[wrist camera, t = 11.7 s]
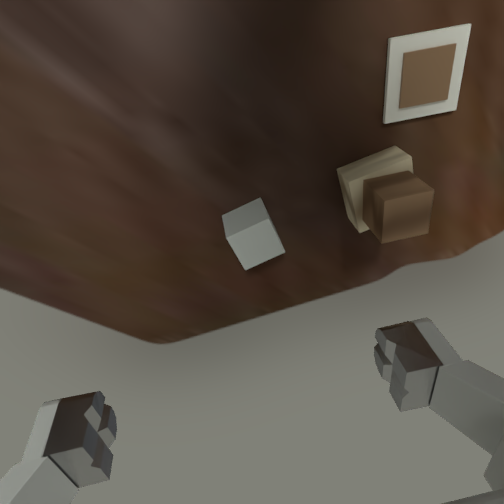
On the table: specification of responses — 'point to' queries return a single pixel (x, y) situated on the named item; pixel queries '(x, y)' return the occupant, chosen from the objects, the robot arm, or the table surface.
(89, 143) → the table surface
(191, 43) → the table surface
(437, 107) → the swatch
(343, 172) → the oak base block
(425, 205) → the walnut cube
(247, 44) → the table surface
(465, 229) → the table surface
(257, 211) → the grey cube
